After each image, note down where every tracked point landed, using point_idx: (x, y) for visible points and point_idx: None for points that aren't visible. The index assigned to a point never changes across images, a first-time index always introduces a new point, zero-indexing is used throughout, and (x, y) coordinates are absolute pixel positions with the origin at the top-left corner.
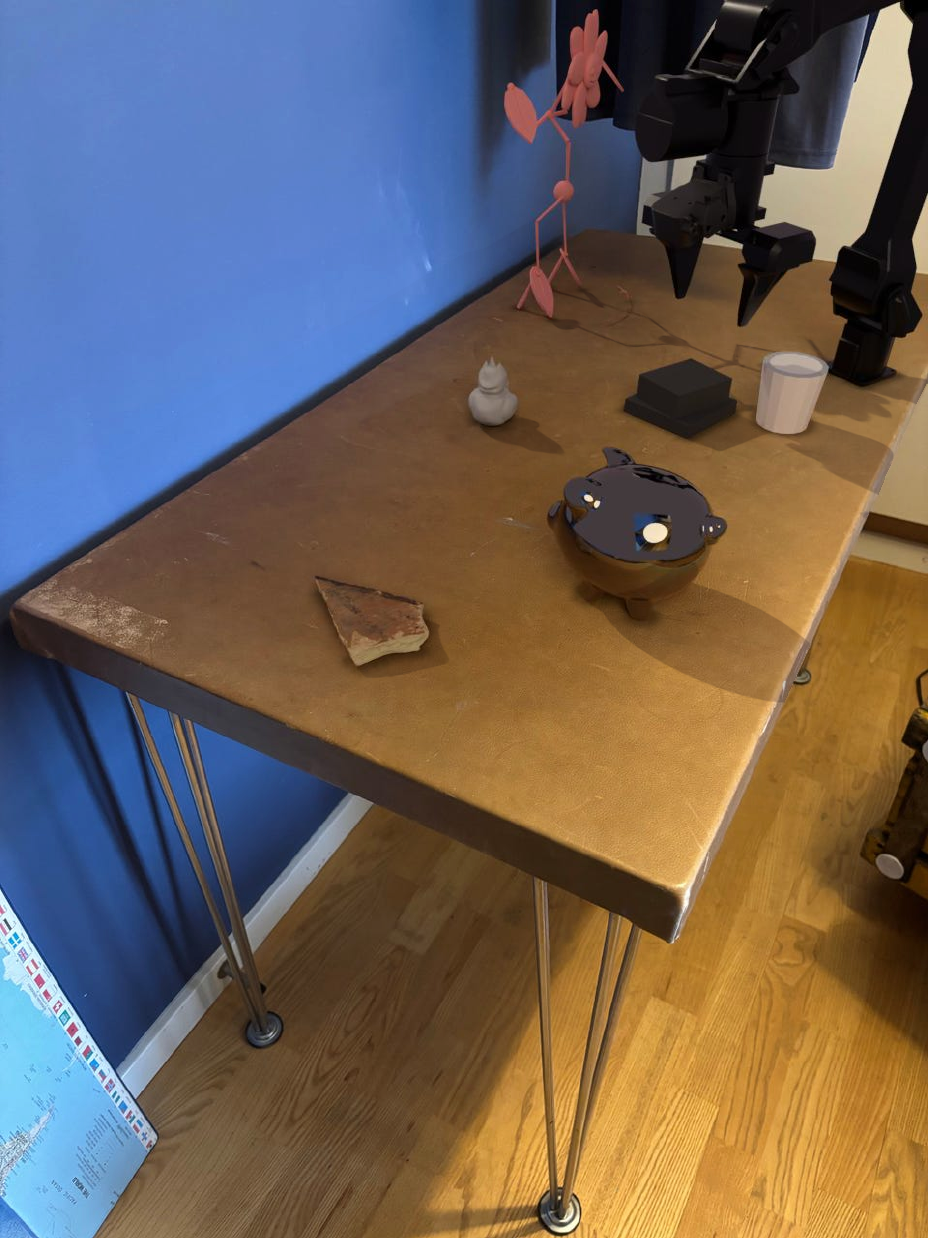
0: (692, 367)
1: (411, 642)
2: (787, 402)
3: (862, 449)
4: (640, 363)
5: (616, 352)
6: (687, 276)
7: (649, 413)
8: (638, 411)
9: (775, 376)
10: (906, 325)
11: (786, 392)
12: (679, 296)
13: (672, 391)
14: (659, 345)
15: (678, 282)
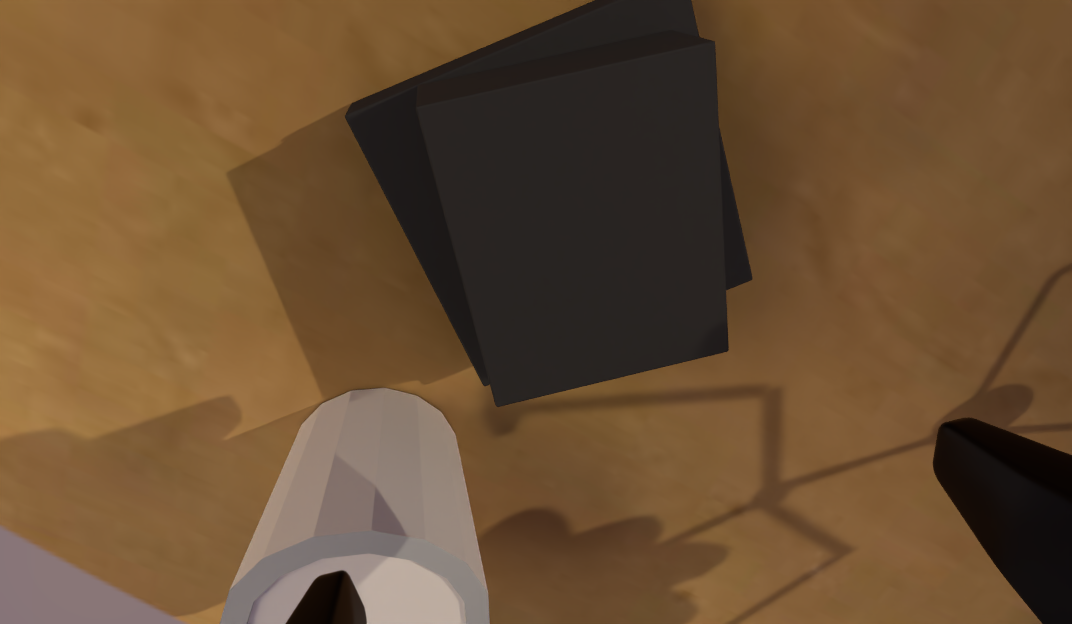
0: (653, 314)
1: None
2: (274, 494)
3: (159, 563)
4: (937, 249)
5: (1053, 212)
6: (1062, 593)
7: (543, 27)
8: (598, 3)
9: (303, 527)
10: None
11: (270, 515)
12: (951, 441)
13: (474, 102)
14: (989, 366)
15: (1052, 497)
